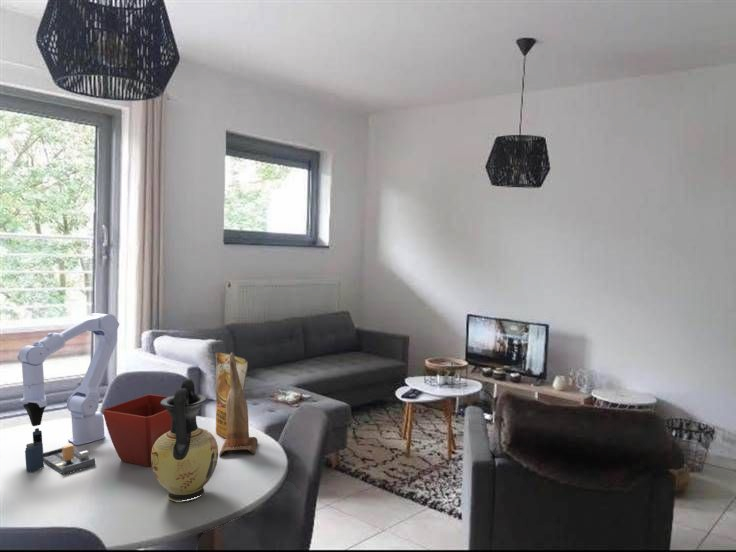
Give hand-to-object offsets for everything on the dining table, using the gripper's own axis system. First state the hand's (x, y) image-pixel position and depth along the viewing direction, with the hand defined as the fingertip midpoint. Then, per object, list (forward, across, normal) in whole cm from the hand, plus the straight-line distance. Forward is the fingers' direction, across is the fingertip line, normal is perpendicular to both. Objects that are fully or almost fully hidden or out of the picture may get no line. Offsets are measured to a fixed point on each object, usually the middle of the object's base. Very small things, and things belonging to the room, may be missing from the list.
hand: (36, 425), depth 181 cm
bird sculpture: (+10, +49, +42) cm, 65 cm away
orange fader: (+9, +17, +2) cm, 19 cm away
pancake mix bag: (+10, +35, +49) cm, 61 cm away
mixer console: (+10, +14, +4) cm, 18 cm away
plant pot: (+10, +31, +22) cm, 39 cm away
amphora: (+10, +64, +14) cm, 66 cm away
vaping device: (+10, +12, -5) cm, 16 cm away
